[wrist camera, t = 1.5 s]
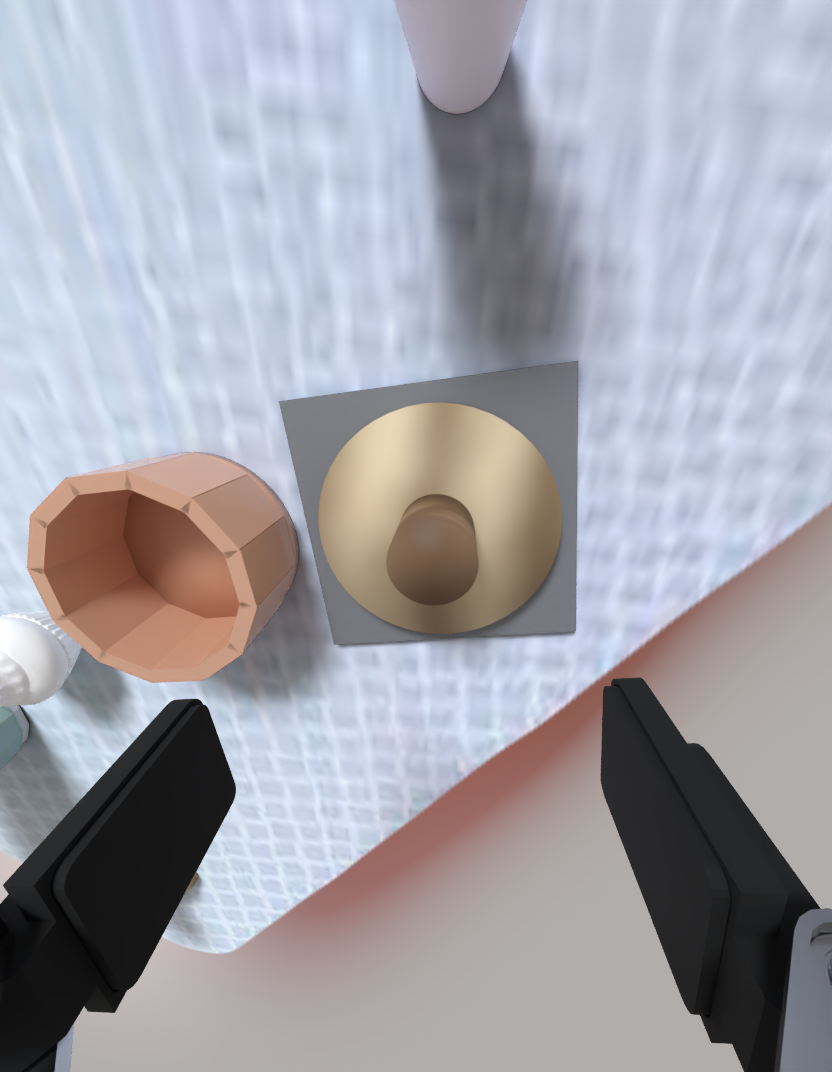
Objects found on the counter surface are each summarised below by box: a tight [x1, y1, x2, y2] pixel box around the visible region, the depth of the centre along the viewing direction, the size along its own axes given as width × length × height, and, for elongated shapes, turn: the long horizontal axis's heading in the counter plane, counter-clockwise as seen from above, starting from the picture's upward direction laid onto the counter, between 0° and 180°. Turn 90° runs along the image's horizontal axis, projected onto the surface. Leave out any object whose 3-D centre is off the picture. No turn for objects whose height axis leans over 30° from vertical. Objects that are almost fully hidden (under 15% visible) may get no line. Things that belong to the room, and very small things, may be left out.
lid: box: [318, 402, 562, 634], centre depth 20 cm, size 13×13×6 cm
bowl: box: [27, 452, 299, 683], centre depth 22 cm, size 11×11×6 cm
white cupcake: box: [0, 611, 82, 707], centre depth 25 cm, size 6×6×7 cm
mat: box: [279, 361, 578, 645], centre depth 23 cm, size 15×15×1 cm
